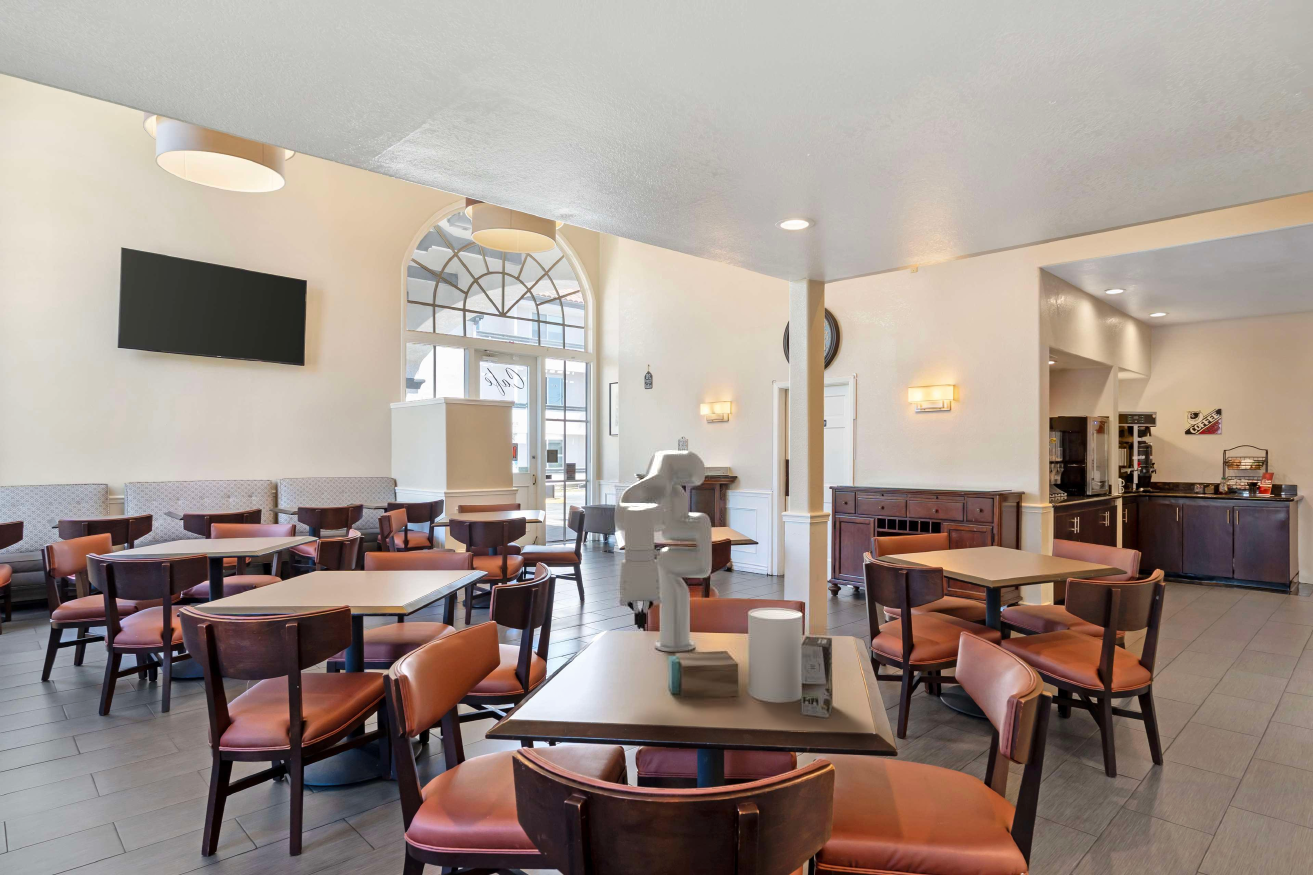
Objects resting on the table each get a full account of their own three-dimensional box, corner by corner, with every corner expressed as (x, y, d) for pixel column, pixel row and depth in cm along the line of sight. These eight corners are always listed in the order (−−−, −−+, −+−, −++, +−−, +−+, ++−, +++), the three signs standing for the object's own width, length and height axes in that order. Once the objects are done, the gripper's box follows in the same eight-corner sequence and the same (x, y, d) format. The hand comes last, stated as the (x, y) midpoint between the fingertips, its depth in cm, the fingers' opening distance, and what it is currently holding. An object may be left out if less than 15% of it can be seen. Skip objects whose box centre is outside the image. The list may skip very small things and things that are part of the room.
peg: (668, 687, 177) (668, 655, 178) (721, 684, 179) (721, 653, 180) (671, 693, 172) (671, 661, 172) (726, 690, 174) (726, 659, 174)
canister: (811, 700, 168) (810, 617, 169) (758, 703, 166) (757, 620, 166) (791, 683, 181) (790, 606, 182) (742, 686, 179) (741, 608, 180)
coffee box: (829, 718, 156) (828, 646, 157) (800, 714, 158) (800, 644, 159) (833, 705, 165) (832, 637, 165) (806, 702, 167) (805, 634, 167)
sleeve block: (674, 683, 181) (674, 652, 181) (726, 681, 183) (726, 650, 183) (682, 698, 169) (682, 666, 169) (738, 696, 171) (738, 663, 171)
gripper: (666, 552, 180) (667, 622, 180) (609, 554, 178) (610, 624, 178) (671, 557, 172) (671, 629, 173) (611, 559, 170) (612, 633, 170)
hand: (640, 627), depth 175 cm, fingers closed
